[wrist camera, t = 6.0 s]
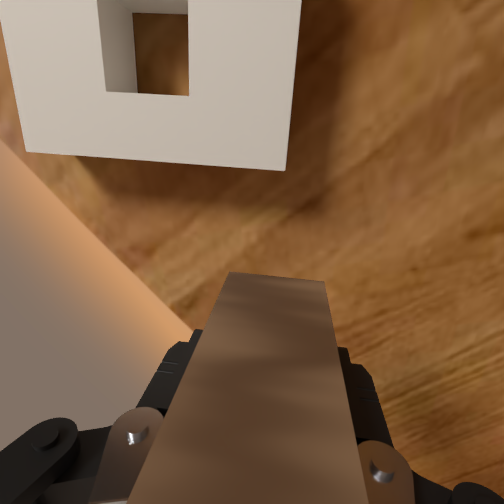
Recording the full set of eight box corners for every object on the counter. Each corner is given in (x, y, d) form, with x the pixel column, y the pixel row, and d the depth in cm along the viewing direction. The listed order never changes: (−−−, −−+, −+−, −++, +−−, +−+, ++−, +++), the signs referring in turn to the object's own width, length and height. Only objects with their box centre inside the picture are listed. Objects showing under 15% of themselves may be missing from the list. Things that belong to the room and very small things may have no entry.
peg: (324, 281, 13) (397, 646, 4) (311, 358, 15) (343, 755, 5) (229, 271, 13) (90, 583, 4) (226, 347, 15) (120, 701, 6)
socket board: (307, -61, 22) (312, -112, 17) (286, 164, 27) (285, 171, 23) (37, -64, 23) (-26, -111, 19) (68, 147, 29) (26, 151, 24)
